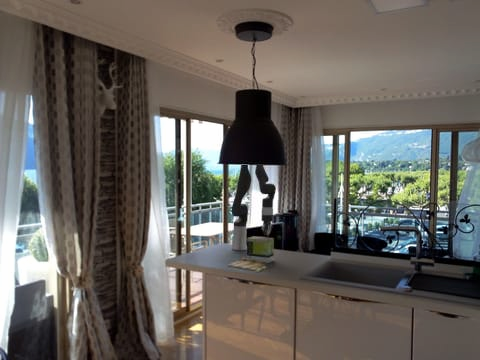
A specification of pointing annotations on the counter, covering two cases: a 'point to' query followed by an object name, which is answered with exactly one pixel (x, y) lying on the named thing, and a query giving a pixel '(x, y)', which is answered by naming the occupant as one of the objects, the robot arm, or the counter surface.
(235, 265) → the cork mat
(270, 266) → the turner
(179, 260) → the counter surface
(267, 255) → the tea box
